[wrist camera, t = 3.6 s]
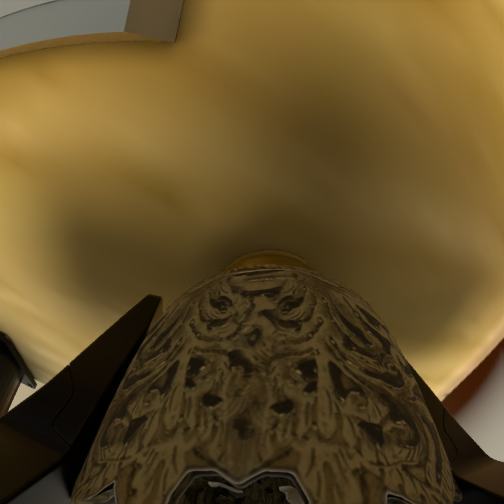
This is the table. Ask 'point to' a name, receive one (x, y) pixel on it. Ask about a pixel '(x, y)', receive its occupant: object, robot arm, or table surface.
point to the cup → (268, 402)
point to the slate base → (84, 22)
